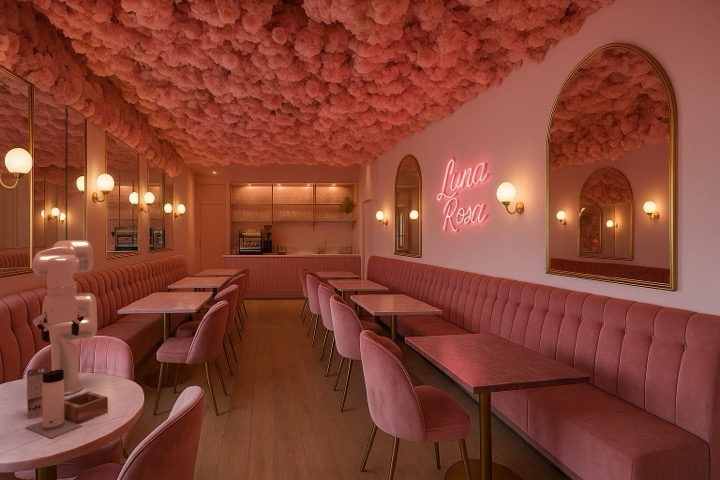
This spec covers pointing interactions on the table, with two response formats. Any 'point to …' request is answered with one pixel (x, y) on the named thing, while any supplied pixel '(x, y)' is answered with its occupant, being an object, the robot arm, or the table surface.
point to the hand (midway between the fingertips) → (60, 338)
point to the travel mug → (53, 399)
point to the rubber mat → (53, 433)
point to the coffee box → (35, 392)
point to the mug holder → (85, 407)
